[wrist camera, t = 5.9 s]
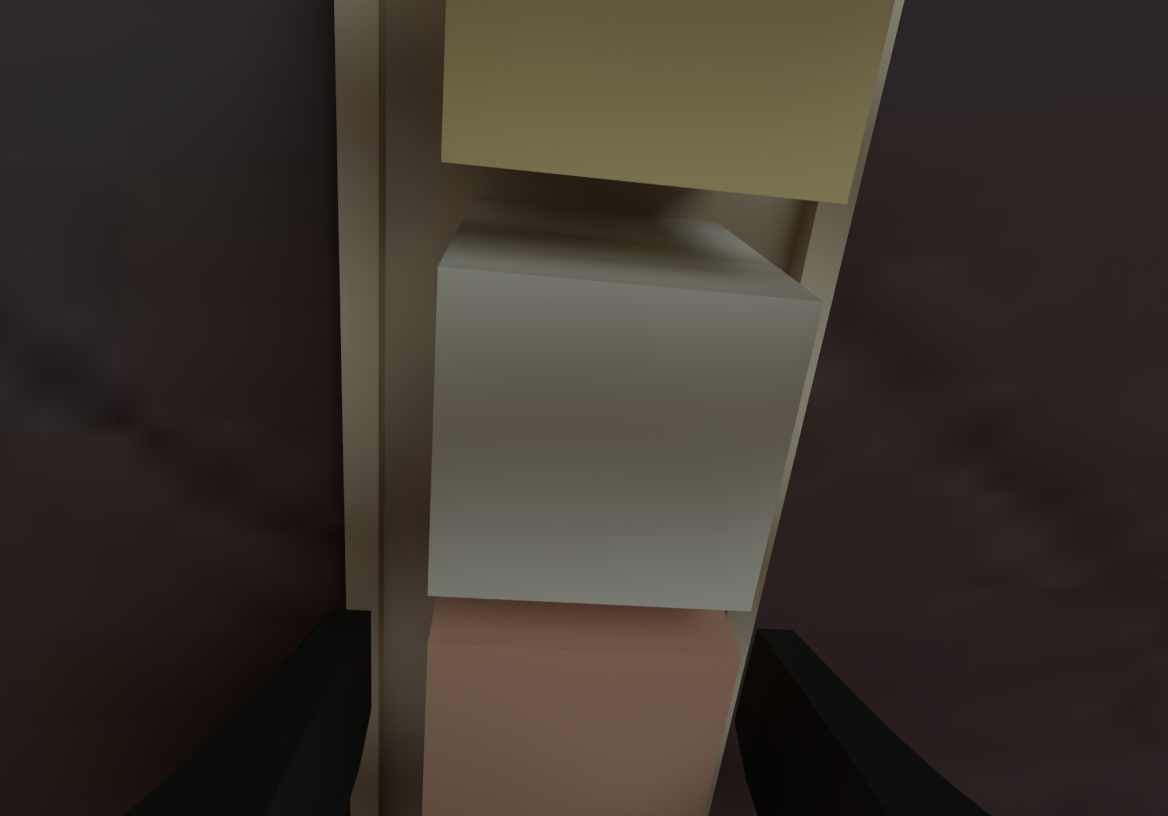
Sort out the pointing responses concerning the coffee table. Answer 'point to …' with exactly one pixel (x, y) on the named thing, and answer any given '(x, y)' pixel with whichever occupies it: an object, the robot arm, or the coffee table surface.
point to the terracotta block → (574, 708)
